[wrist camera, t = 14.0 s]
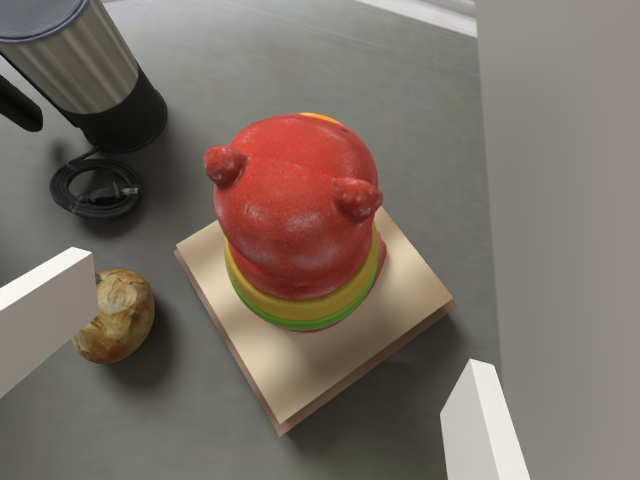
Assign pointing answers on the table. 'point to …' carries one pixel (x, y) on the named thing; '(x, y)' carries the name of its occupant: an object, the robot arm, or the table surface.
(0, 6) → the milk frother
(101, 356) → the onion
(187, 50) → the table surface
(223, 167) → the stacking bear
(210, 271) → the stepped wooden block
